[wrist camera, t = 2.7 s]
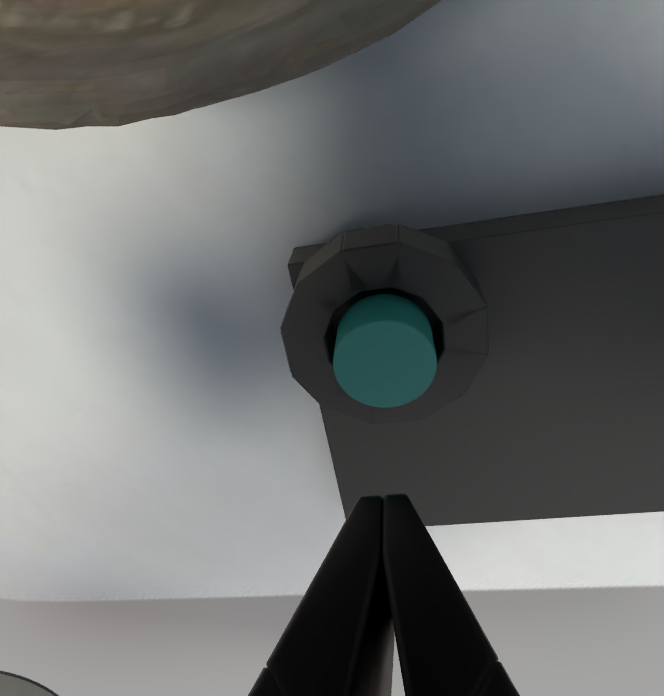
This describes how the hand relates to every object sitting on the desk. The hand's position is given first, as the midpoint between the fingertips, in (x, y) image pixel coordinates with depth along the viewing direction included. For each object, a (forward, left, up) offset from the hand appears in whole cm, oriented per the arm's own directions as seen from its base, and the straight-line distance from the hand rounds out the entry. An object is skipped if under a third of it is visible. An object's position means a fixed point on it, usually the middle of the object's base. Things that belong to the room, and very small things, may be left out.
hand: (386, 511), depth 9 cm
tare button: (0, 0, -6) cm, 6 cm away
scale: (+2, -5, -9) cm, 11 cm away
